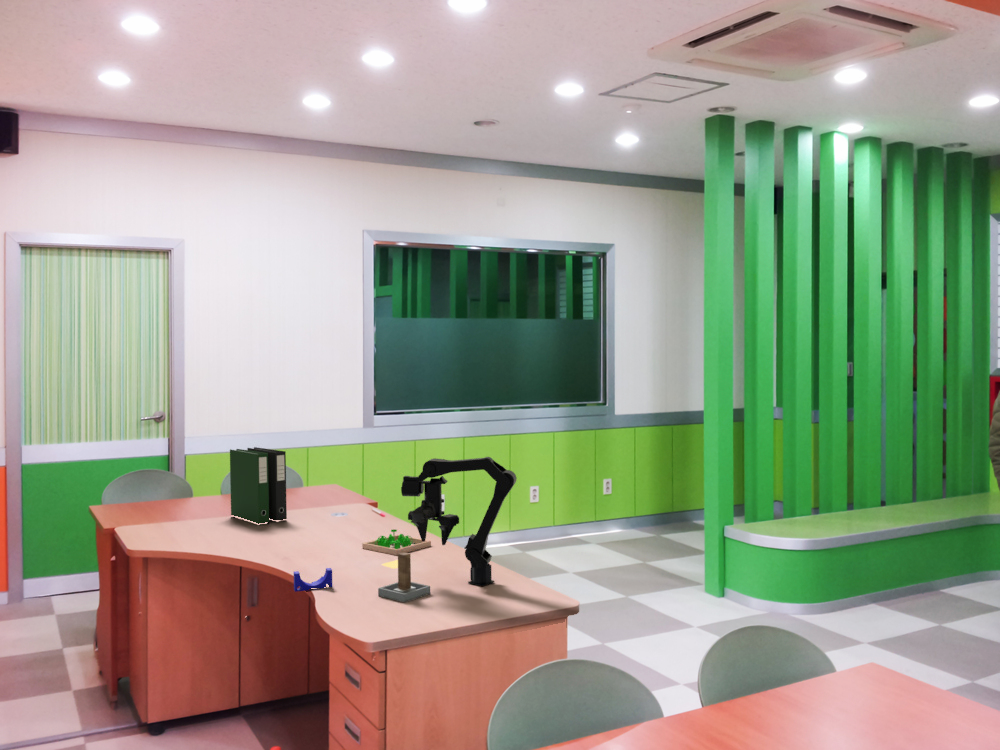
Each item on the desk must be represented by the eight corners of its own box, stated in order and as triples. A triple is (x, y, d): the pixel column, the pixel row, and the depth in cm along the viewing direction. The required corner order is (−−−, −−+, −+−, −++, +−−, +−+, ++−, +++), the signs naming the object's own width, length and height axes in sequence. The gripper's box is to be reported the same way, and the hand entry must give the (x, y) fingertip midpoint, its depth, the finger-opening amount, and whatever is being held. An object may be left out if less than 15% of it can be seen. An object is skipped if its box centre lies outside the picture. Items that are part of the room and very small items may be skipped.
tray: (430, 593, 271) (430, 586, 271) (404, 602, 262) (404, 594, 262) (404, 587, 278) (404, 580, 278) (378, 596, 269) (378, 588, 269)
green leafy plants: (420, 545, 340) (419, 527, 340) (400, 553, 327) (400, 535, 326) (388, 541, 346) (387, 525, 346) (367, 549, 333) (367, 532, 332)
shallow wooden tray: (430, 545, 337) (430, 540, 337) (396, 555, 322) (396, 550, 322) (397, 539, 349) (397, 534, 349) (362, 548, 334) (362, 543, 334)
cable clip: (329, 584, 283) (329, 566, 283) (332, 588, 279) (332, 570, 279) (293, 588, 279) (292, 570, 279) (295, 592, 275) (294, 573, 275)
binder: (229, 517, 399) (228, 449, 398) (258, 513, 410) (257, 446, 409) (258, 525, 380) (257, 454, 379) (288, 520, 390) (286, 451, 390)
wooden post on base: (407, 589, 273) (406, 551, 273) (415, 591, 271) (415, 553, 270) (393, 594, 269) (392, 554, 268) (402, 596, 266) (401, 556, 266)
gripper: (396, 497, 284) (396, 543, 284) (437, 503, 272) (437, 551, 272) (419, 492, 292) (419, 537, 293) (460, 498, 281) (460, 545, 281)
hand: (433, 543), depth 285 cm, fingers open, 9 cm apart
